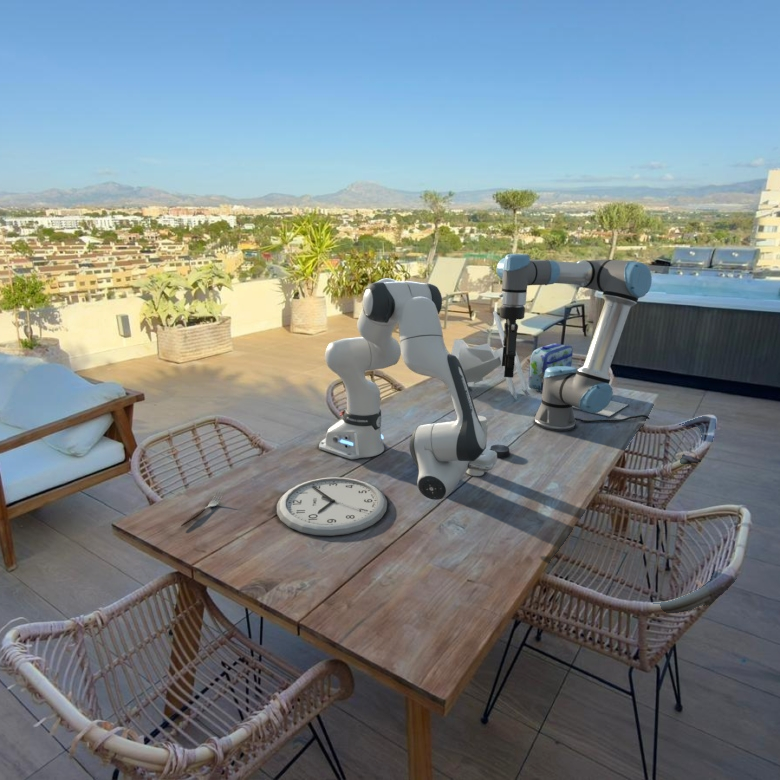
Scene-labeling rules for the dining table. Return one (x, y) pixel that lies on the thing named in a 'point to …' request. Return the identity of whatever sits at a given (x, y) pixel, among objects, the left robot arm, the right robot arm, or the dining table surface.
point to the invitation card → (611, 408)
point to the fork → (211, 504)
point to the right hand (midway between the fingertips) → (507, 371)
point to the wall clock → (331, 506)
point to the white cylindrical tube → (485, 426)
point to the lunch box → (547, 362)
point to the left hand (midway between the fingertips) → (466, 443)
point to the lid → (500, 450)
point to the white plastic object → (485, 360)
